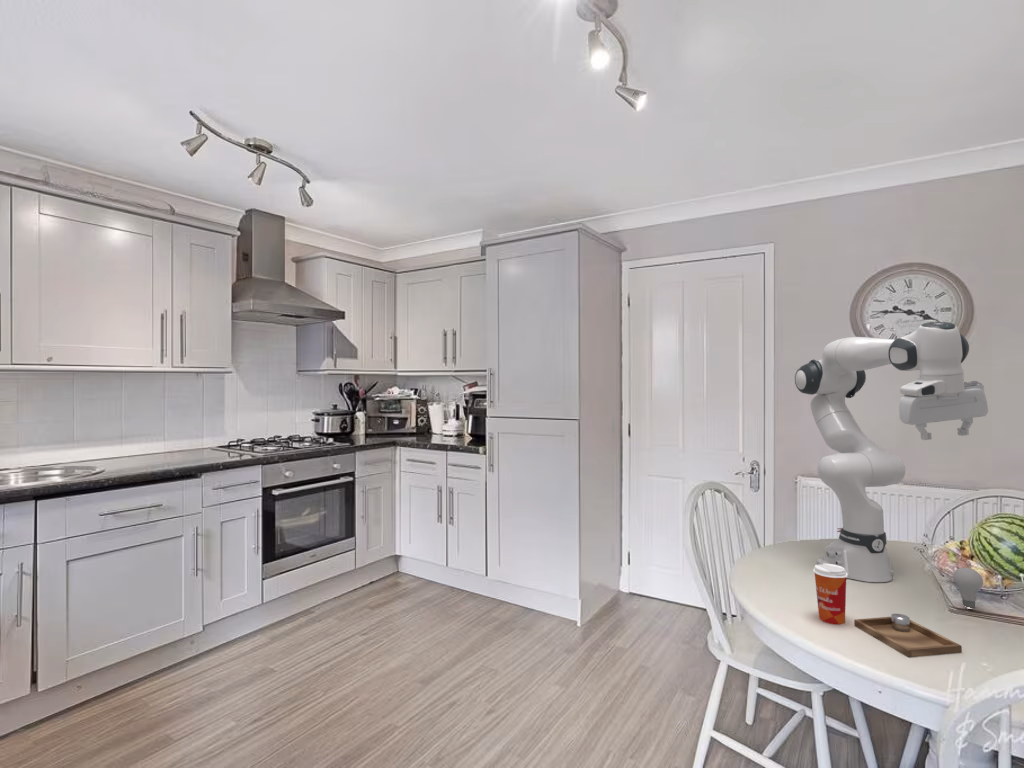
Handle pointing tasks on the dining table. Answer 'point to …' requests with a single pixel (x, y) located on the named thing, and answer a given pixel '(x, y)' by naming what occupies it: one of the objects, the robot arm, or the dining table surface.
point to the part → (900, 622)
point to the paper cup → (831, 592)
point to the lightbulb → (968, 585)
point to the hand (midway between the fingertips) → (944, 437)
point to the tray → (908, 638)
